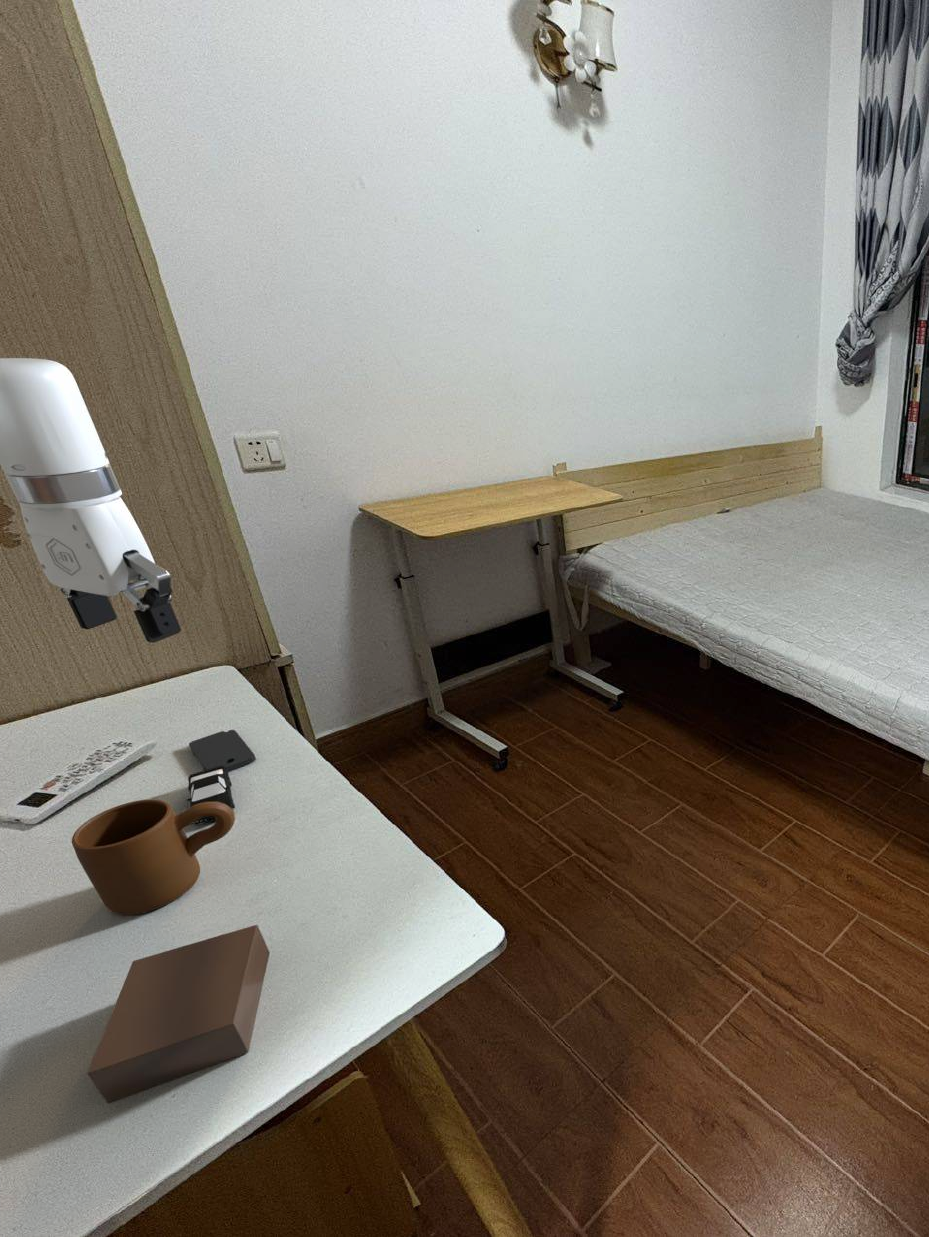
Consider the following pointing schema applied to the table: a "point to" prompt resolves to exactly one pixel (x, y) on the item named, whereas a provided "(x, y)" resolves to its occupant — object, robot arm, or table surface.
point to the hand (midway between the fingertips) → (132, 630)
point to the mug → (146, 852)
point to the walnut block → (181, 1013)
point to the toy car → (210, 789)
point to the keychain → (222, 750)
